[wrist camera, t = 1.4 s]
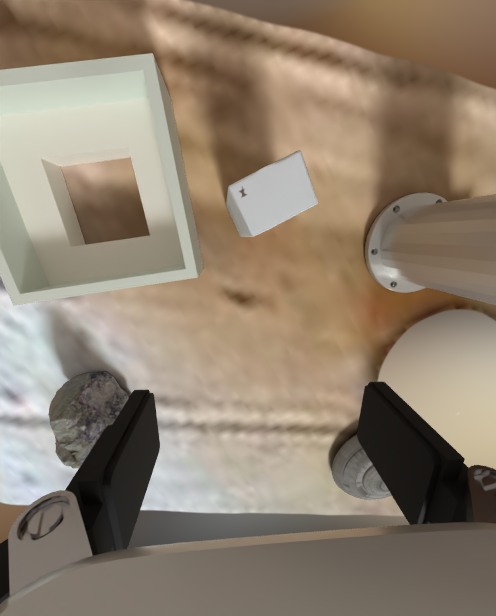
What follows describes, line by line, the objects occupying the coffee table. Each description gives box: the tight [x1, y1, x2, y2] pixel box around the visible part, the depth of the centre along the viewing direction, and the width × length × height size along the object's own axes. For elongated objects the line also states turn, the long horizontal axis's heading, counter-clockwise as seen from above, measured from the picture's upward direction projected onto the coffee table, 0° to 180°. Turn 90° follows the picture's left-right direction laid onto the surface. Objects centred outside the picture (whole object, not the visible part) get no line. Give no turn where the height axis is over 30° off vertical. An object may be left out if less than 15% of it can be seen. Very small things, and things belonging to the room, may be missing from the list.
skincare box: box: [226, 151, 318, 237], centre depth 24 cm, size 6×4×12 cm
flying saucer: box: [332, 434, 391, 500], centre depth 41 cm, size 15×15×6 cm
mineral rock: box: [48, 371, 129, 468], centre depth 31 cm, size 13×11×10 cm
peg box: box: [0, 53, 204, 306], centre depth 25 cm, size 18×18×7 cm
